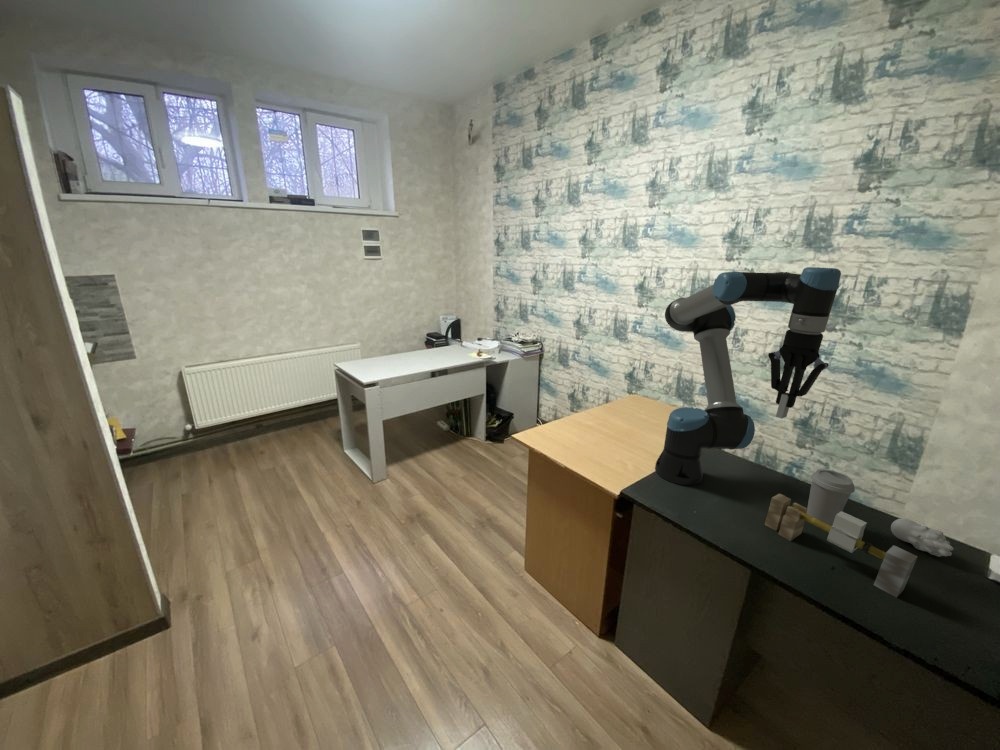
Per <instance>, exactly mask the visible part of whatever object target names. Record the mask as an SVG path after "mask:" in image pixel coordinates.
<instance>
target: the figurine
mask: <svg viewBox="0 0 1000 750" xmlns="http://www.w3.org/2000/svg"><path fill="white" fill-rule="evenodd" d="M890 531H891V533H892V534H893V535H894V537H896V538H897V539H899V540H901V541H903V542H906V543H909V544H911V545H912V546H913V548H915V549H917V550H918V551H922V552H927V553H929V555H932V556H936V557H940V558H941V557H952V555H953V551H954V547H953V546H952V545H951V542H950V541H949V540H947V538H946V535H944V532H943V531H942V530H939V529H934V528H931V527H928V526H926V525H921V524H919V523H917V522H916V521H914V520H912V519H908V518H898V519H895V520H894V521H893V522H892V523H891V525H890Z"/></svg>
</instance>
